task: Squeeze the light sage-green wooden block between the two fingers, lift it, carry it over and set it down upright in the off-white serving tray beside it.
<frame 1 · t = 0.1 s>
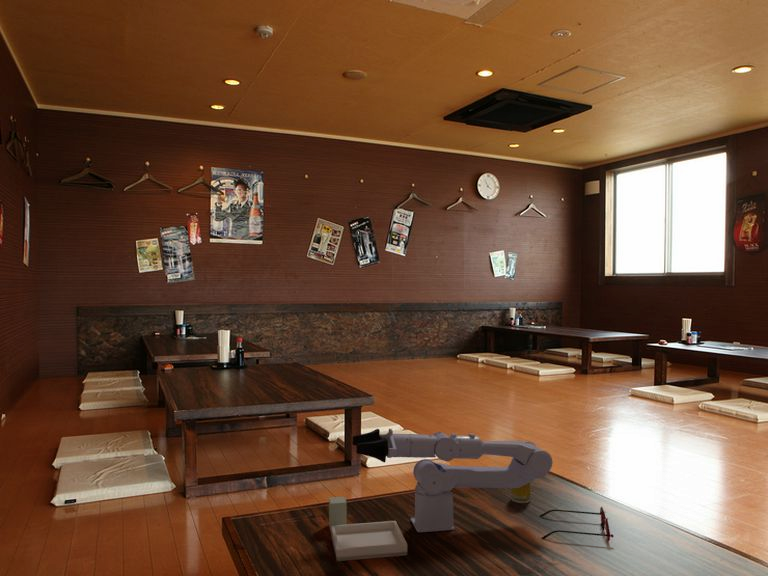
hand: (354, 444, 143), 22 cm above the table, tool horizontal, fingers open, 7 cm apart
supplement bottle: (520, 500, 164), on the table
glasses: (574, 532, 145), on the table
serving tray: (367, 545, 136), on the table
sage block: (337, 527, 146), on the table
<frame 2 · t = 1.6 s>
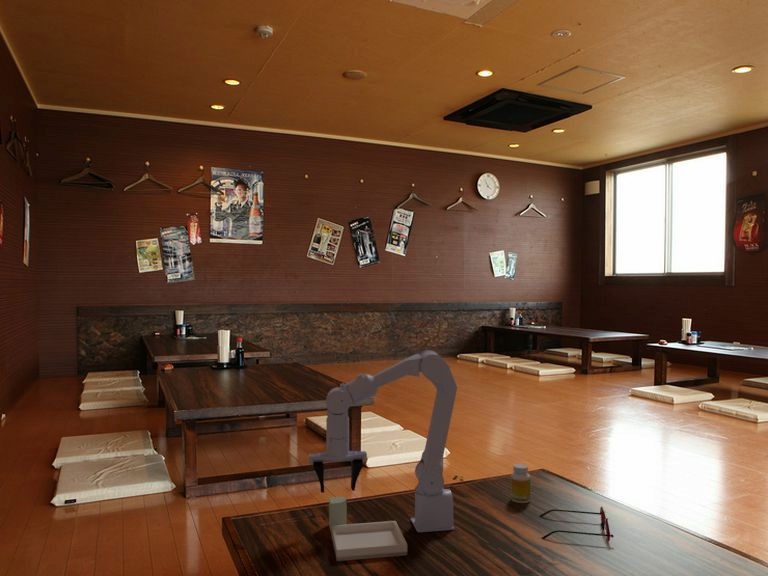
hand: (337, 490, 146), 9 cm above the table, tool pointing down, fingers open, 7 cm apart
nothing on the table moved.
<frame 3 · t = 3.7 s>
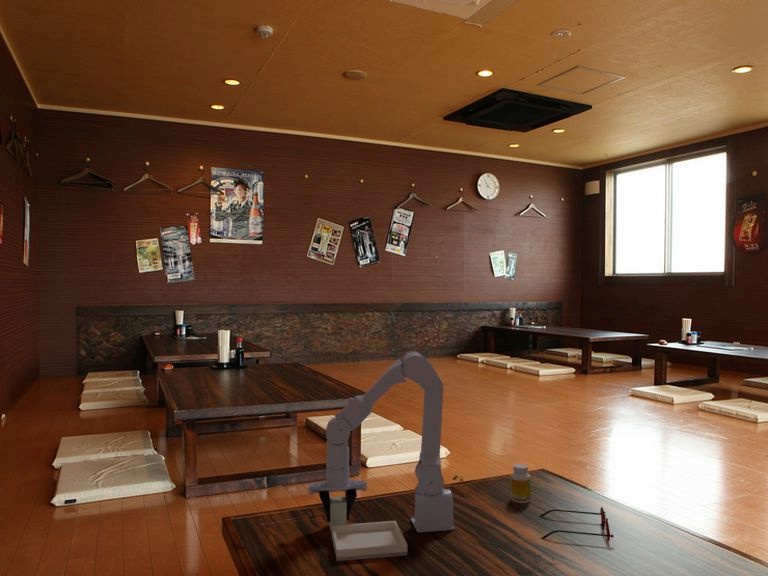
hand: (337, 519, 146), 2 cm above the table, tool pointing down, fingers closed on sage block, 4 cm apart
sage block: (337, 527, 146), on the table, touching gripper
everything else where it was.
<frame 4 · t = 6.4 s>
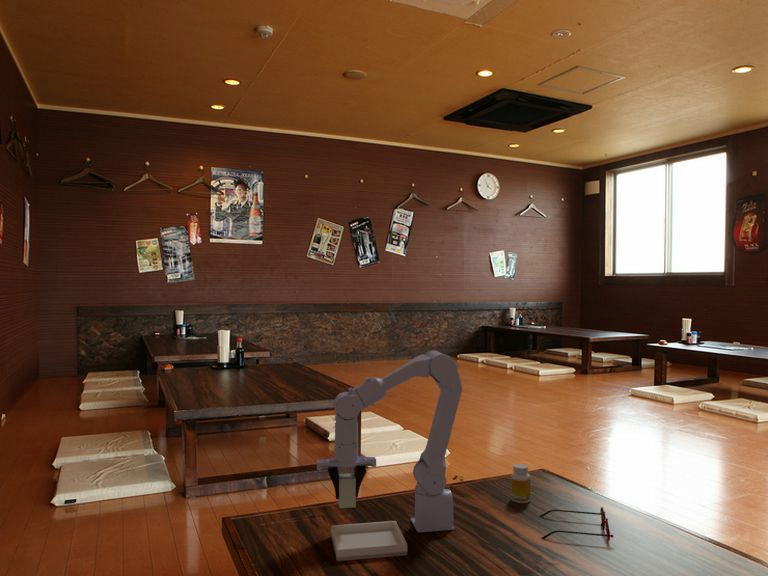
hand: (346, 496, 143), 9 cm above the table, tool pointing down, fingers closed on sage block, 4 cm apart
sage block: (346, 504, 143), point 7 cm above the table, touching gripper
everything else where it was.
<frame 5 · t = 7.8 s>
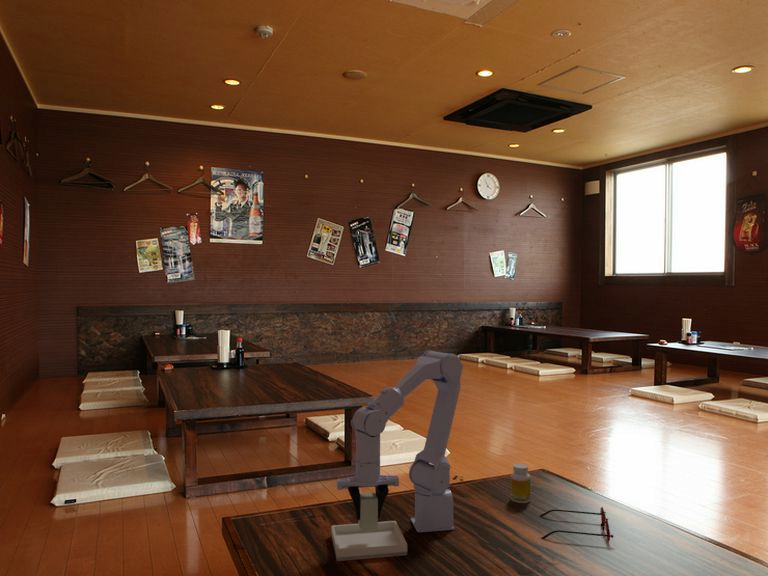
hand: (367, 517, 136), 6 cm above the table, tool pointing down, fingers closed on sage block, 4 cm apart
sage block: (367, 525, 136), point 5 cm above the table, touching gripper
everything else where it was.
when the fingers open (4 cm above the table, at t = 9.2 s): sage block drops 1 cm, resting on serving tray.
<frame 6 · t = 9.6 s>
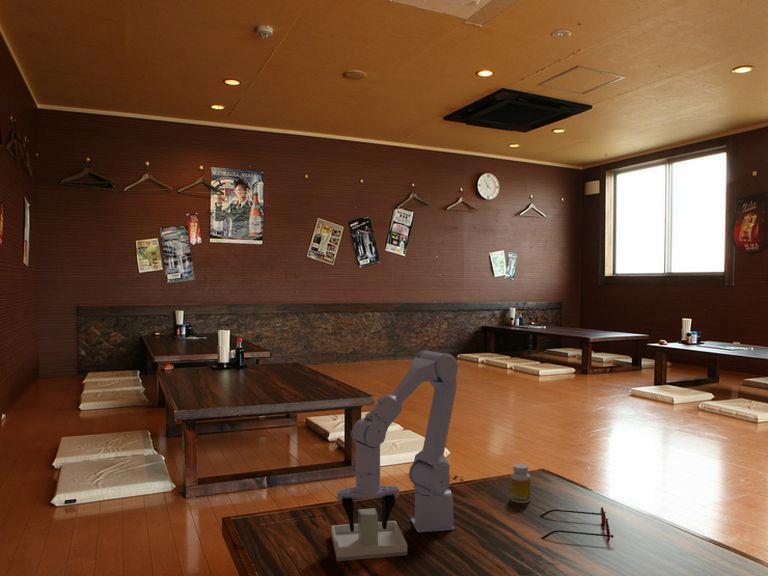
hand: (367, 528, 136), 4 cm above the table, tool pointing down, fingers open, 7 cm apart
sage block: (368, 541, 136), point 1 cm above the table, touching serving tray
everything else where it was.
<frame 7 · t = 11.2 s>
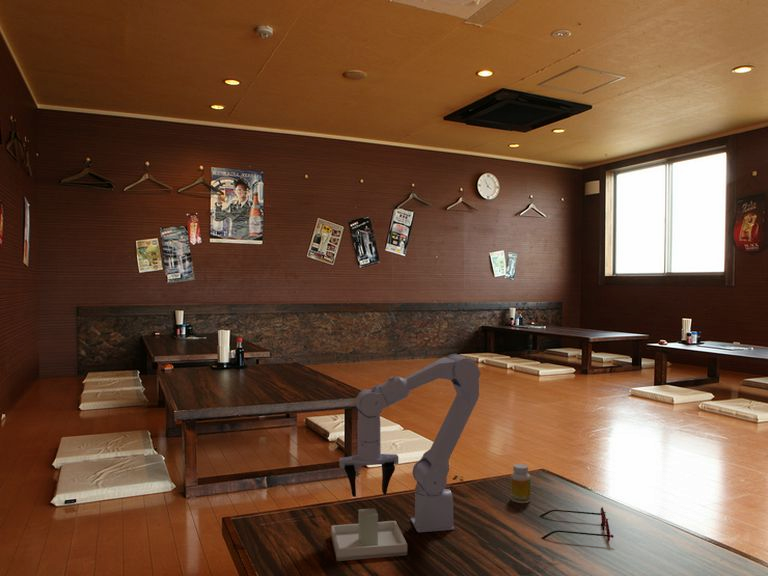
hand: (369, 494, 143), 9 cm above the table, tool pointing down, fingers open, 7 cm apart
nothing on the table moved.
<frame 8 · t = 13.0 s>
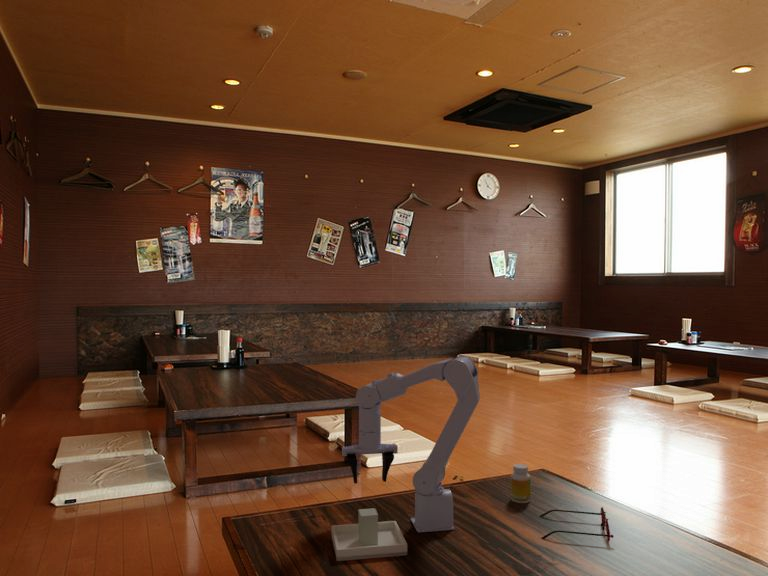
hand: (369, 481, 152), 9 cm above the table, tool pointing down, fingers open, 7 cm apart
nothing on the table moved.
at the end: sage block inside the target area on the serving tray (0.0 cm from its centre), point 0.8 cm above the serving tray's base; sage block tilted 0°; the gripper is holding nothing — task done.
